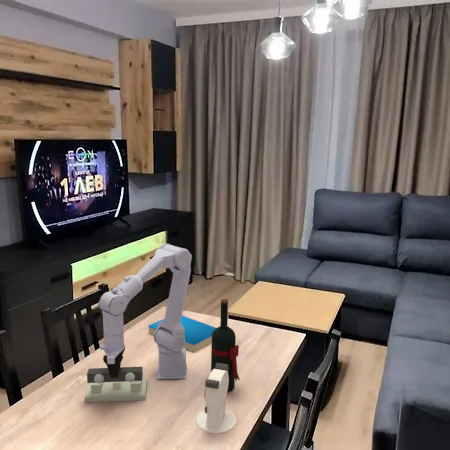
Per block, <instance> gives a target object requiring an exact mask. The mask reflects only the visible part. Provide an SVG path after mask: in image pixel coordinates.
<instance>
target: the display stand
mask: <svg viewBox="0 0 450 450" xmlns="http://www.w3.org/2000/svg"><path fill="white" fill-rule="evenodd" d="M147 389H148V377H142V381H132V382H127V381H124V382H102V383H88V386H87V389H86V392H85V394H84V398H83V400H84V403H101V402H103V403H104V402H123V401H124V402H125V401H127V402H128V401H132V402H133V401H146V397H147V396H146V395H147Z"/></svg>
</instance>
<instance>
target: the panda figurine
mask: <svg viewBox="0 0 450 450" xmlns="http://www.w3.org/2000/svg"><path fill="white" fill-rule="evenodd" d="M228 370H229V365H227V364H221V363H216V366H215V369H213V370H212V372H211V371H210V372H209V376H208V378H206V380H205V383H204V386H205V389H204V403H205V407H204V410H202V411H200V412H199V413H198V414H197V416H196V420H195V421H196V424H197V428H199V429H200V430H201V431H203V432H205V433H208V434H214V435H222V434H226V433H228V432H230V431H232V430H233V429H234V428H235V426H236V425H237V417H236V415H235V414H234V413H233V412H232V411H230V410H228V409H226V405H227V394H228V393H227V391H228V384H229V376H228Z"/></svg>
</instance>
